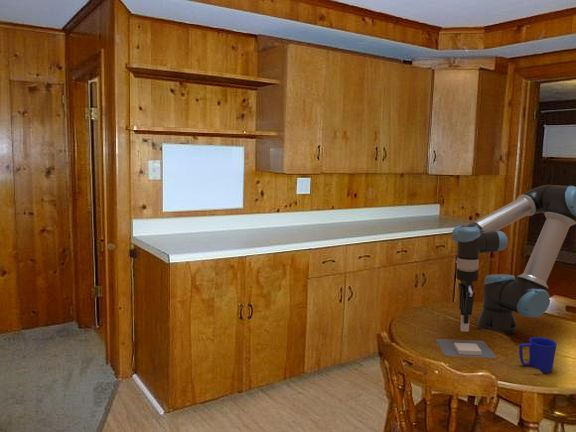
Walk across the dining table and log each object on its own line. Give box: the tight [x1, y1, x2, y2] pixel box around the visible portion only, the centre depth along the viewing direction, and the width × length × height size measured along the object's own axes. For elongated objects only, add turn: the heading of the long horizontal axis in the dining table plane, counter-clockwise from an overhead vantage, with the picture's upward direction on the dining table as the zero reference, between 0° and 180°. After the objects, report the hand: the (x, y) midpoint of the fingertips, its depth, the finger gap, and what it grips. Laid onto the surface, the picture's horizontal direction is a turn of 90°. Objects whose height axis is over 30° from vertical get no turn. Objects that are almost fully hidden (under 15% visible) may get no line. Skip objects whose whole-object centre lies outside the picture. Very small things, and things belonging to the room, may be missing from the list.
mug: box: [518, 336, 557, 374], centre depth 164 cm, size 8×12×10 cm
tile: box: [454, 343, 482, 356], centre depth 175 cm, size 8×2×7 cm
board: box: [435, 338, 498, 359], centre depth 179 cm, size 18×16×2 cm
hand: (464, 330), depth 181 cm, fingers closed
